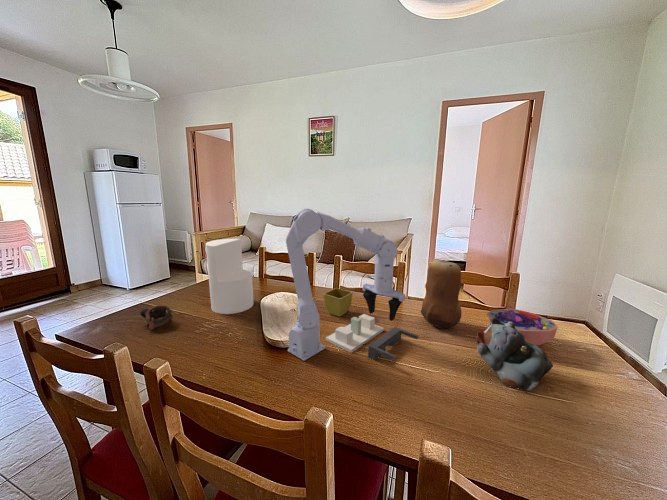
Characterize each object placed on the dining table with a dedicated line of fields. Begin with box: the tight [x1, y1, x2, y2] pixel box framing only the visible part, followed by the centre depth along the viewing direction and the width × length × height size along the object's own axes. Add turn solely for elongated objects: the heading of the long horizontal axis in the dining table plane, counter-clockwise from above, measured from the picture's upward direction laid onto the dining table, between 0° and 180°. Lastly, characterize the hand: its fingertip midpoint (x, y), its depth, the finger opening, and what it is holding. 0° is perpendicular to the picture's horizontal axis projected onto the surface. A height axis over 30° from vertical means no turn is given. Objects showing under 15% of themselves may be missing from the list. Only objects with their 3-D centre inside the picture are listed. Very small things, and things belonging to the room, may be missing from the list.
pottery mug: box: [139, 304, 174, 331], centre depth 104 cm, size 12×10×8 cm
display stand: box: [325, 313, 385, 354], centre depth 97 cm, size 19×11×6 cm, turn 138°
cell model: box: [486, 308, 559, 347], centre depth 93 cm, size 17×20×11 cm
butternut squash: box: [420, 259, 462, 329], centre depth 102 cm, size 14×13×25 cm
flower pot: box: [323, 287, 354, 317], centre depth 113 cm, size 9×9×9 cm
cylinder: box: [205, 238, 255, 315], centre depth 118 cm, size 17×17×28 cm
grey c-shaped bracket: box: [367, 326, 419, 361], centre depth 87 cm, size 16×8×4 cm, turn 138°
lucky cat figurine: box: [476, 318, 554, 392], centre depth 77 cm, size 17×14×16 cm
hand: (381, 315), depth 91 cm, fingers open, 7 cm apart
